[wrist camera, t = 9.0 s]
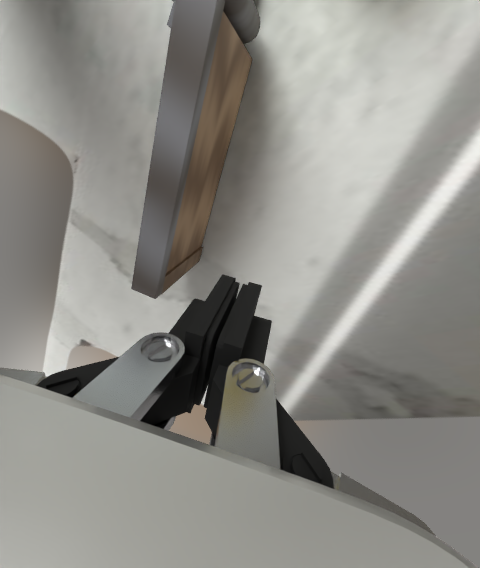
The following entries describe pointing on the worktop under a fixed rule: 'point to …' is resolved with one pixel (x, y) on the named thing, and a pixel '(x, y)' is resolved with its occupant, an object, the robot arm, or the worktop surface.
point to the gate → (192, 134)
